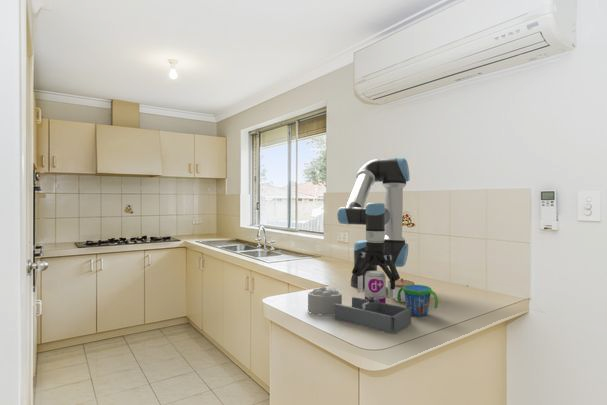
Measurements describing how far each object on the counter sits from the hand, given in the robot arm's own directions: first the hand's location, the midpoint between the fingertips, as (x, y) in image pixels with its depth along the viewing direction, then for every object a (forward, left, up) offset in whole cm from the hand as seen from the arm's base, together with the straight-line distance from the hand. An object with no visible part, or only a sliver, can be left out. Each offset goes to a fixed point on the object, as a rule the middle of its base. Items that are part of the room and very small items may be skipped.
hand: (374, 294), depth 147 cm
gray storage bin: (+6, -13, -6) cm, 15 cm away
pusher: (+5, -13, -5) cm, 15 cm away
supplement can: (0, 0, -6) cm, 6 cm away
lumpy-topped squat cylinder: (-15, -14, -6) cm, 21 cm away
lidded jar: (+2, +20, -6) cm, 21 cm away
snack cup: (+15, +6, -6) cm, 17 cm away
